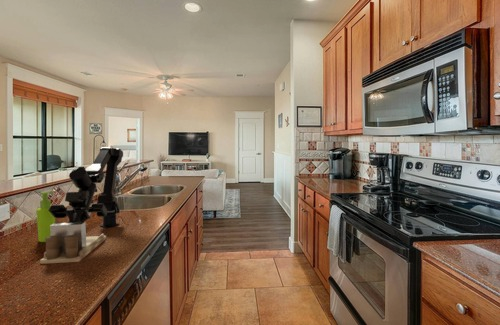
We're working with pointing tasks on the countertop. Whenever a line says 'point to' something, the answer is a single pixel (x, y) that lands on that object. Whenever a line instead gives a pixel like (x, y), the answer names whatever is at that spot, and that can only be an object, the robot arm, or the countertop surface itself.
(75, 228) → the white square slab
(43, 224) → the soap dispenser
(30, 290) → the countertop surface
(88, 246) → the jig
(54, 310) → the countertop surface
